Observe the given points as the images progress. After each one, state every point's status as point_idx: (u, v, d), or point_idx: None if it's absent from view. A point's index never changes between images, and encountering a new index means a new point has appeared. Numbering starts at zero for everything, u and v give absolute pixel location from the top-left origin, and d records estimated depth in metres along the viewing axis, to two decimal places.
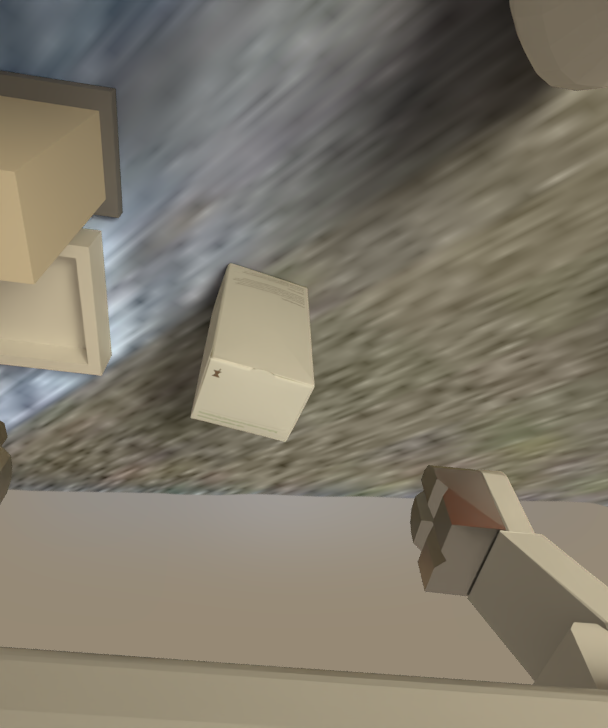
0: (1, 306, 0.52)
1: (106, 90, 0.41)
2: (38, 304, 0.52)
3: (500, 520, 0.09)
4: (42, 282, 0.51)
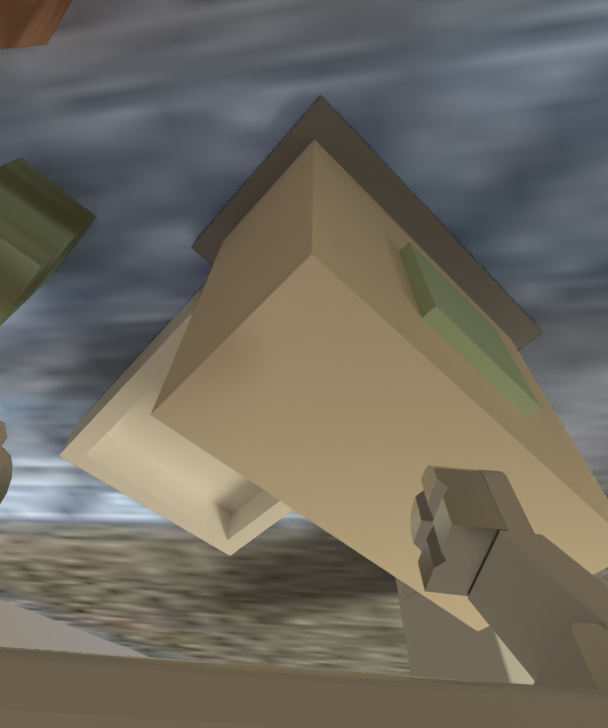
0: None
1: (536, 326, 0.31)
2: None
3: (500, 520, 0.09)
4: None
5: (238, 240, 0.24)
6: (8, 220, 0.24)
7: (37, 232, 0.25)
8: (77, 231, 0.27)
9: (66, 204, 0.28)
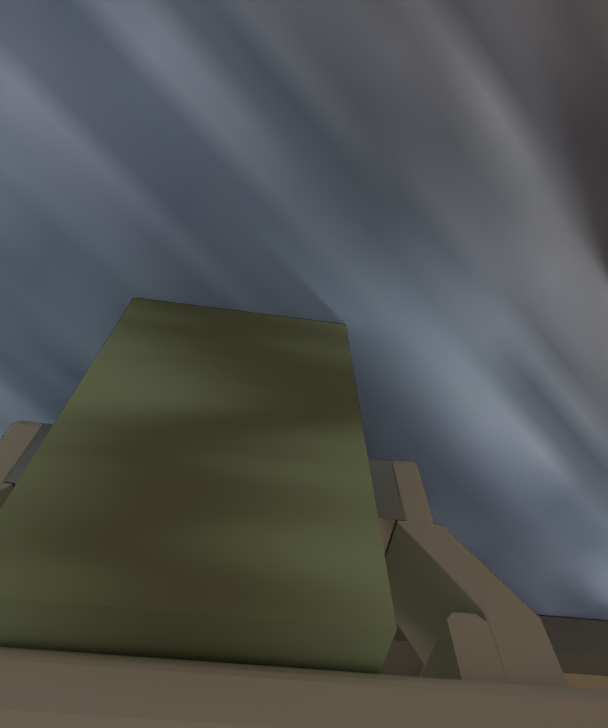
0: None
1: None
2: None
3: (401, 511, 0.09)
4: None
5: None
6: None
7: None
8: None
9: None
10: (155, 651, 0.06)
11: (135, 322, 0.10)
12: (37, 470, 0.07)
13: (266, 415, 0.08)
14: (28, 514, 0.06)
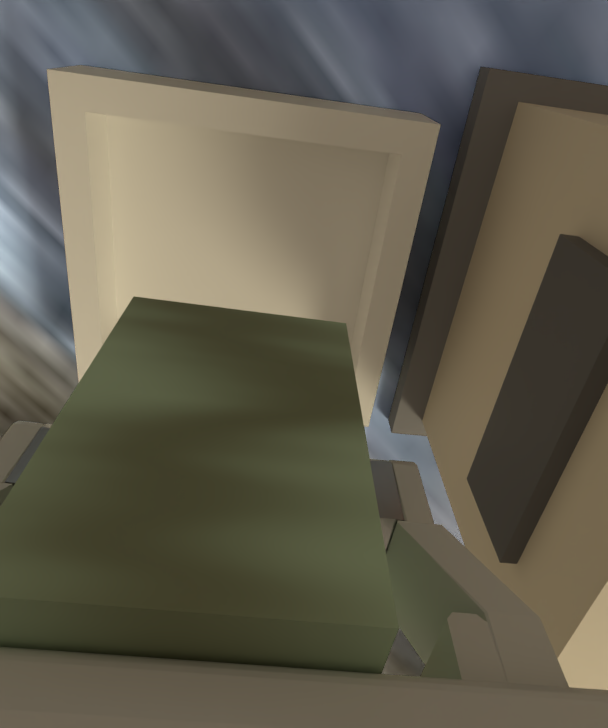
0: (203, 191, 0.23)
1: None
2: (217, 272, 0.25)
3: (401, 511, 0.09)
4: (268, 292, 0.26)
5: None
6: None
7: None
8: None
9: None
10: (154, 651, 0.06)
11: (136, 321, 0.10)
12: (37, 469, 0.07)
13: (267, 413, 0.08)
14: (27, 513, 0.06)
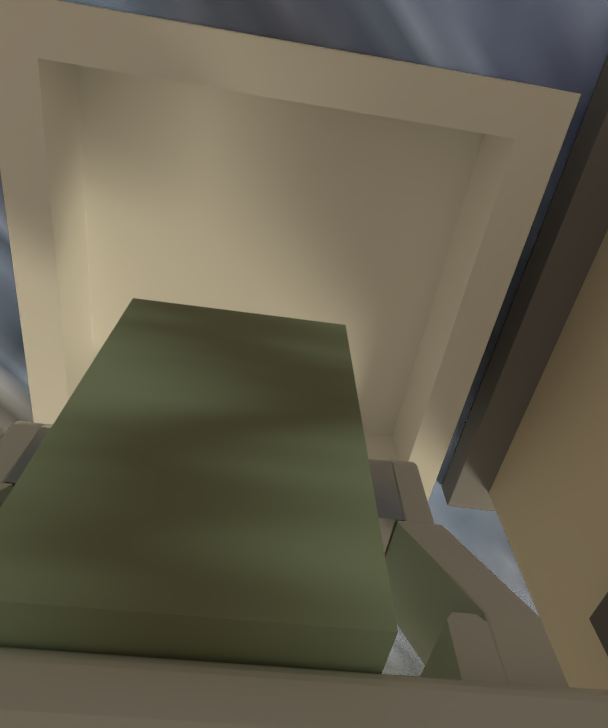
0: (214, 187, 0.16)
1: None
2: (230, 298, 0.18)
3: (401, 511, 0.09)
4: None
5: None
6: None
7: None
8: None
9: None
10: (154, 654, 0.06)
11: (134, 322, 0.10)
12: (36, 471, 0.07)
13: (266, 415, 0.08)
14: (26, 516, 0.06)
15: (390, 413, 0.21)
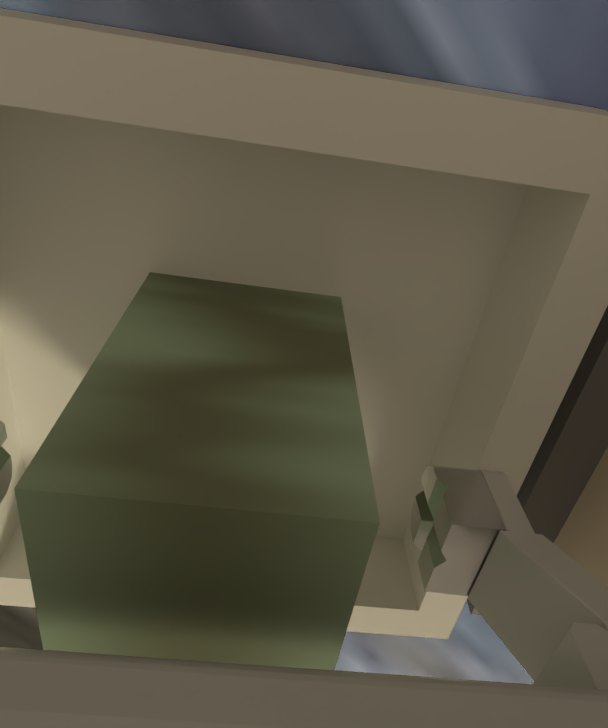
0: (165, 249, 0.12)
1: None
2: None
3: (500, 521, 0.09)
4: None
5: None
6: None
7: None
8: None
9: None
10: (180, 544, 0.07)
11: (152, 292, 0.12)
12: (78, 403, 0.08)
13: (270, 367, 0.10)
14: (73, 435, 0.07)
15: (401, 514, 0.17)
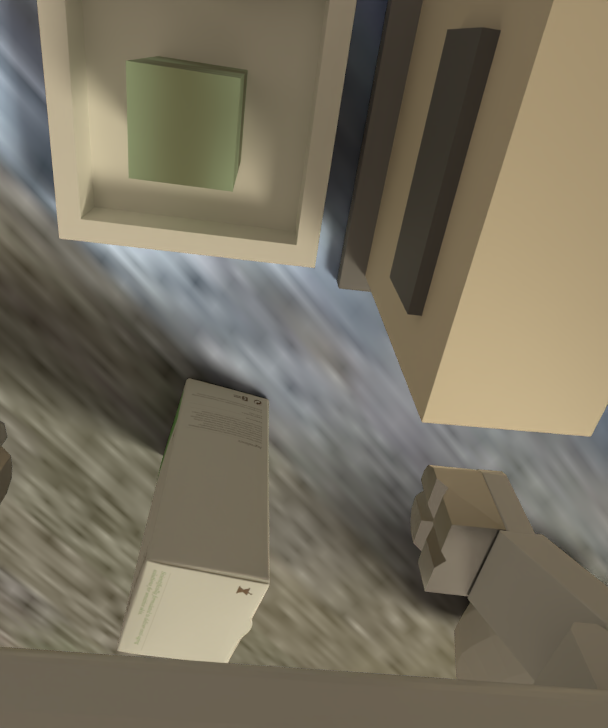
0: (165, 43, 0.27)
1: None
2: None
3: (500, 520, 0.09)
4: None
5: None
6: (238, 131, 0.24)
7: (237, 155, 0.25)
8: (238, 169, 0.28)
9: (241, 137, 0.28)
10: (177, 88, 0.22)
11: (160, 57, 0.26)
12: (139, 59, 0.23)
13: (210, 68, 0.24)
14: (140, 61, 0.22)
15: (291, 212, 0.32)
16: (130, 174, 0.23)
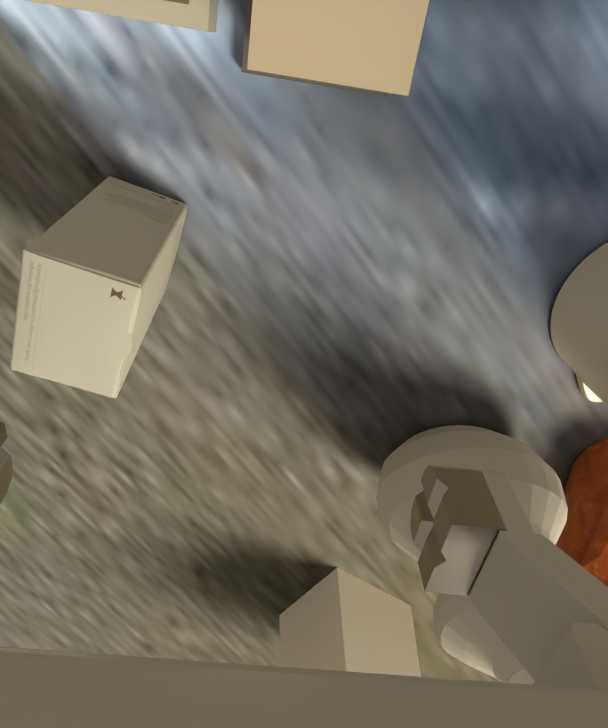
0: None
1: None
2: None
3: (500, 520, 0.09)
4: None
5: None
6: None
7: None
8: None
9: None
10: None
11: None
12: None
13: None
14: None
15: None
16: None
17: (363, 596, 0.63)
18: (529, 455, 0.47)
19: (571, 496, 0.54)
